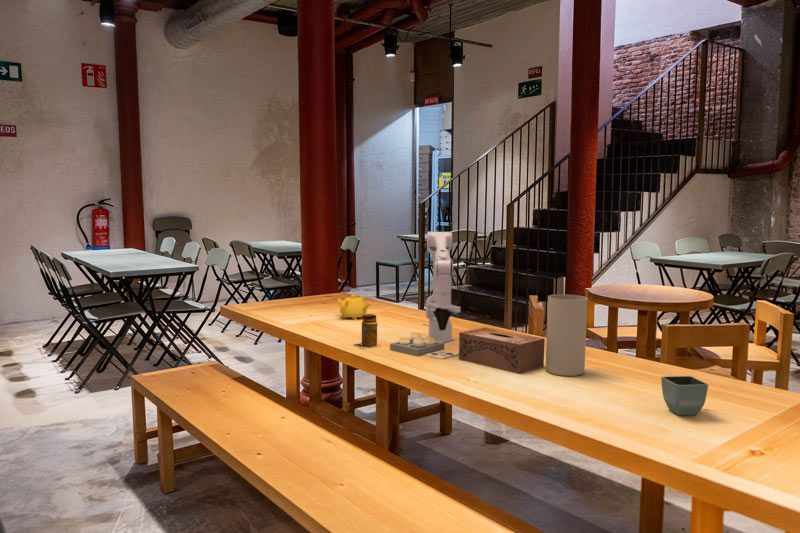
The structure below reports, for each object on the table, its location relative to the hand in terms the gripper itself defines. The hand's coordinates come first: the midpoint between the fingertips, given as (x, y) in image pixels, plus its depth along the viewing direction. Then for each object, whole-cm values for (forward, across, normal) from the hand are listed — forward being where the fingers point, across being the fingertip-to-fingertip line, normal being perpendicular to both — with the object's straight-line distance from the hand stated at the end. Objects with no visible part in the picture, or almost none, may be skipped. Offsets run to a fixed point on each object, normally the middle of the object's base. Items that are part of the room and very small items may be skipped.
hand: (442, 329), depth 231 cm
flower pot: (+10, +86, -5) cm, 87 cm away
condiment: (+10, -30, -8) cm, 33 cm away
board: (+9, -12, 0) cm, 15 cm away
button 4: (+8, -8, +3) cm, 12 cm away
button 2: (+7, -16, +3) cm, 17 cm away
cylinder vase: (+10, +44, +11) cm, 46 cm away
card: (+9, 0, 0) cm, 9 cm away
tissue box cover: (+10, +22, +6) cm, 24 cm away
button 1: (+8, -16, -3) cm, 18 cm away
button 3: (+7, -8, -3) cm, 12 cm away
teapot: (+10, -78, +29) cm, 83 cm away
